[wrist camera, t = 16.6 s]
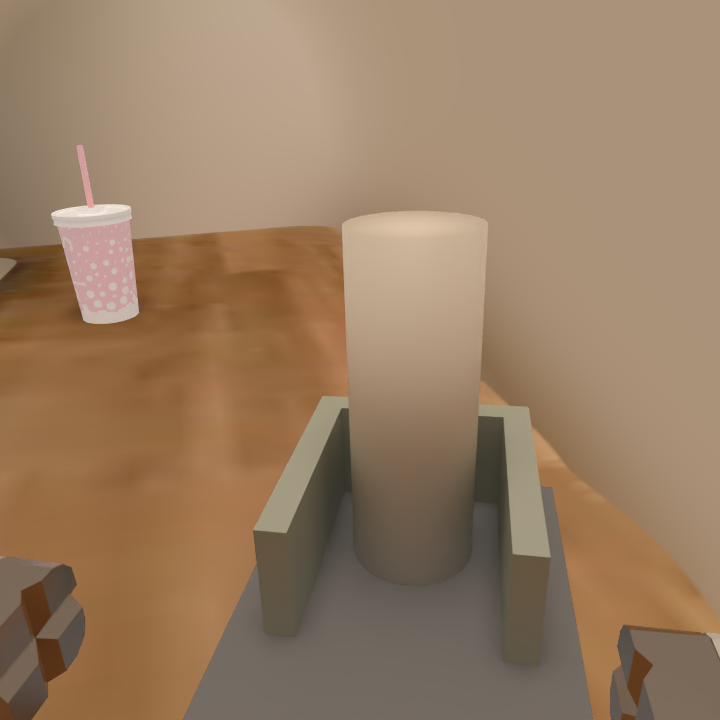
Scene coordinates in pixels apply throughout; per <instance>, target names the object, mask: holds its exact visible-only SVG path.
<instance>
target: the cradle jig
mask: <svg viewBox="0 0 720 720" xmlns="http://www.w3.org/2000/svg"><path fill="white" fill-rule="evenodd" d="M253 533H254V542H255V551H256V560H257V564H256V566H255V568H254V570H253V572H252V575H251V577H250V579H249V581H248V583H247V585H246V587H245V589H244V591H243V594H242V596H241V598H240V600H239V602H238V604H237V606H236V608H235V610H234V612H233V615H232V617H231V619H230V621H229V623H228V625H227V627H226V629H225V631H224V634H223V636H222V638H221V640H220V642H219V644H218V646H217V648H216V650H215V653H214V655H213V657H212V659H211V661H210V663H209V665H208V667H207V669H206V671H205V674H204V676H203V678H202V680H201V682H200V684H199V686H198V688H197V690H196V693H195V695H194V697H193V699H192V701H191V703H190V705H189V707H188V709H187V712H186V714H185V716H184V718H183V720H593V716H592V711H591V705H590V699H589V694H588V688H587V682H586V677H585V671H584V665H583V660H582V654H581V648H580V643H579V637H578V631H577V626H576V620H575V614H574V609H573V603H572V597H571V592H570V586H569V580H568V575H567V569H566V563H565V558H564V552H563V546H562V541H561V535H560V529H559V524H558V518H557V512H556V507H555V501H554V495H553V490H552V487H542V486H540V481H539V475H538V468H537V461H536V454H535V447H534V441H533V434H532V427H531V420H530V414H529V407H520V406H502V405H483V404H479V412H478V432H477V452H476V472H475V491H474V511H473V531H472V550H471V556H470V559H469V561H468V562H467V564H466V565H465V566H464V568H463V569H462V570H461V571H459V572H458V573H457V574H455V575H454V576H452V577H450V578H448V579H446V580H443V581H441V582H437V583H433V584H427V585H403V584H397V583H393V582H389V581H386V580H384V579H381V578H379V577H377V576H375V575H374V574H372V573H370V572H369V571H368V570H367V569H365V568H364V567H363V565H362V564H361V563H360V562H359V560H358V559H357V557H356V554H355V551H354V534H353V507H352V480H351V453H350V426H349V400H348V397H335V396H322V398H321V400H320V402H319V404H318V406H317V408H316V410H315V412H314V414H313V416H312V418H311V420H310V421H309V423H308V425H307V427H306V429H305V431H304V433H303V435H302V437H301V439H300V441H299V443H298V445H297V447H296V448H295V450H294V452H293V454H292V456H291V458H290V460H289V462H288V464H287V466H286V468H285V470H284V472H283V474H282V475H281V477H280V479H279V481H278V483H277V485H276V487H275V489H274V491H273V493H272V495H271V497H270V499H269V501H268V502H267V504H266V506H265V508H264V510H263V512H262V514H261V516H260V518H259V520H258V522H257V524H256V526H255V528H254V529H253Z"/></svg>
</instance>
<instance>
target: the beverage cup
mask: <svg viewBox="0 0 720 720" xmlns="http://www.w3.org/2000/svg"><path fill="white" fill-rule="evenodd" d="M77 151H78V157H79V162H80V167H81V172H82V178H83V183H84V188H85V193H86V199H87V204H88V206H79V207H72V208H67V209H62V210H58V211H55V212H53V213H52V215H51V216H52V219H53V220H54V225H55V226H58V229H59V233H60V236H61V240H62V244H63V248H64V251H65V255H66V259H67V262H68V266H69V269H70V273H71V277H72V280H73V284H74V288H75V291H76V295H77V298H78V302H79V306H80V309H81V313H82V317H83V320H84V321H86V322H88V323H94V324H108V323H114V322H120V321H124V320H127V319H130V318H132V317H134V316H136V315H137V314H138V313H139V309H138V299H137V289H136V280H135V270H134V260H133V251H132V241H131V231H130V222H129V219H131V218H132V216H131V212H132V211H131V207H130V206H126V205H115V204H107V205H94V204H93V198H92V192H91V187H90V182H89V176H88V171H87V166H86V160H85V155H84V149H83V145H77Z"/></svg>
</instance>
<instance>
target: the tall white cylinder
mask: <svg viewBox="0 0 720 720" xmlns="http://www.w3.org/2000/svg"><path fill="white" fill-rule="evenodd" d="M487 235H488V223H487V221H485V220H484V219H482V218H479V217H476V216H471V215H467V214H461V213H452V212H439V211H400V212H386V213H377V214H370V215H364V216H359V217H356V218H352V219H349V220H347V221H345V222H344V223H343V224H342V238H343V265H344V292H345V319H346V346H347V373H348V400H349V426H350V453H351V480H352V507H353V534H354V551H355V554H356V557H357V559H358V560H359V562H360V563H361V564H362V565H363V567H364V568H365V569H367V570H368V571H369V572H370V573H372V574H374V575H375V576H377V577H379V578H381V579H384V580H386V581H389V582H393V583H397V584H403V585H427V584H433V583H437V582H441V581H443V580H446V579H448V578H450V577H452V576H454V575H455V574H457V573H458V572H459V571H461V570H462V569H463V568H464V566H465V565H466V564H467V562H468V561H469V559H470V556H471V550H472V531H473V511H474V491H475V472H476V452H477V432H478V412H479V393H480V372H481V353H482V332H483V314H484V294H485V275H486V255H487Z"/></svg>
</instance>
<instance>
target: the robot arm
mask: <svg viewBox="0 0 720 720" xmlns="http://www.w3.org/2000/svg"><path fill="white" fill-rule="evenodd" d="M76 585H77V584H76V581H75V577H74V574H73V571H72V568H71V567H69V566H66V565H64V564H60V563H52V562H45V561H38V560H30V559H23V558H16V557H8V556H7V557H3V556H0V720H31V719H32V718H33V717H34V715H35V714H36V713H37V711H38V710H39V708H40V707H41V706H42V704H43V703H44V701H45V700H46V699H47V697H48V682H49V681H51V680H52V679H54V678H56V677H57V676H59V675H60V674H62V673H64V672H65V671H67V669H68V668H69V666H70V665H71V663H72V662H73V660H74V659H75V657H76V656H77V655H78V652H79V649H80V646H81V643H82V640H83V638H84V635H85V617H84V612H83V608H82V606H81V605H80V604H79V603H78V602H77V601H76V600H75V599H74V598H73V597H72V596H71V593H72V591H73V590H74V588H75V586H76ZM617 647H618V651H619V655H620V660H621V664H622V665H620V666H619V667H618V668H616V669H615V670H614V671H613V675H612V682H611V689H610V713H611V720H720V634H716V633H706V632H705V633H701V632H693V631H683V630H673V629H663V628H653V627H643V626H633V625H623V627H622V629H621V631H620V635H619V640H618V646H617Z"/></svg>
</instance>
